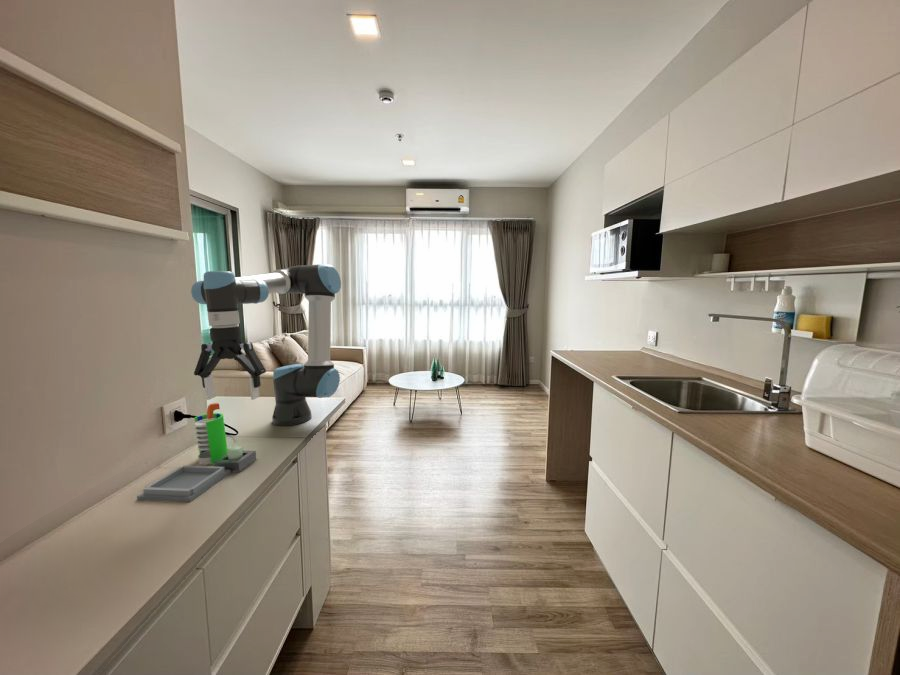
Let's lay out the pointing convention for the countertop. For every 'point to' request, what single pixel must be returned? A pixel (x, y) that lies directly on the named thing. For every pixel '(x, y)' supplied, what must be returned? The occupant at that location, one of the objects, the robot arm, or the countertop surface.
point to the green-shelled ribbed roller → (211, 435)
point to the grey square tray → (184, 483)
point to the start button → (235, 453)
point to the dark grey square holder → (236, 461)
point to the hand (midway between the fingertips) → (233, 398)
